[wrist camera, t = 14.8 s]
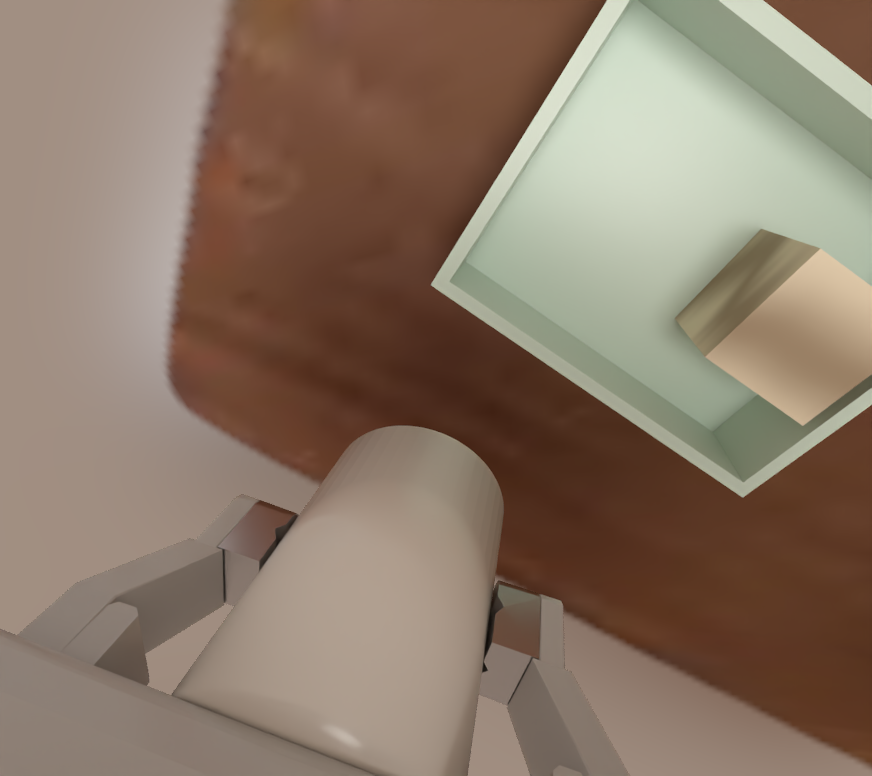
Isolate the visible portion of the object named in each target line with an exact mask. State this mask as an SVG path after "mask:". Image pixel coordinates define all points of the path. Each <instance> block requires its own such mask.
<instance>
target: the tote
mask: <svg viewBox="0 0 872 776" xmlns="http://www.w3.org/2000/svg"><path fill="white" fill-rule="evenodd" d="M761 229H764V230H767V231H770V232H773V233H776V234H779V235H782V236H785V237H788V238H791V239H794V240H797V241H800V242H803V243H806V244H809V245H812V246H815V247H818V248H821V249H822V250H823V251H825V252H826V253H827V254H829V255H830V256H831V257H833V258H834V259H835V260H837V261H838V262H840V263H841V264H842V265H844V266H845V267H846V268H848V269H849V270H850V271H852V272H853V273H854V274H856V275H857V276H858V277H860V278H861V279H862V280H864V281H865V282H866V283H868V284H869V285H870V286H872V86H871V85H870V84H869V83H868V82H866V81H865V80H864V79H863V78H861V77H860V76H859V75H857V74H856V73H855V72H854V71H852V70H851V69H850V68H849V67H847V66H846V65H845V64H843V63H842V62H841V61H840V60H838V59H837V58H836V57H835V56H833V55H832V54H831V53H829V52H828V51H827V50H826V49H824V48H823V47H822V46H821V45H819V44H818V43H817V42H815V41H814V40H813V39H812V38H810V37H809V36H808V35H807V34H805V33H804V32H803V31H801V30H800V29H799V28H798V27H796V26H795V25H794V24H792V23H791V22H790V21H789V20H787V19H786V18H785V17H784V16H782V15H781V14H780V13H778V12H777V11H776V10H775V9H773V8H772V7H771V6H770V5H768V4H767V3H766V2H764V1H763V0H607V1H606V3H605V5H604V6H603V8H602V9H601V11H600V13H599V14H598V16H597V18H596V19H595V21H594V22H593V24H592V26H591V27H590V29H589V30H588V32H587V34H586V35H585V37H584V38H583V40H582V42H581V43H580V45H579V47H578V48H577V50H576V51H575V53H574V55H573V56H572V58H571V59H570V61H569V63H568V64H567V66H566V68H565V69H564V71H563V72H562V74H561V76H560V77H559V79H558V80H557V82H556V84H555V85H554V87H553V88H552V90H551V92H550V93H549V95H548V97H547V98H546V100H545V101H544V103H543V105H542V106H541V108H540V109H539V111H538V113H537V114H536V116H535V117H534V119H533V121H532V122H531V124H530V126H529V127H528V129H527V130H526V132H525V134H524V135H523V137H522V138H521V140H520V142H519V143H518V145H517V147H516V148H515V150H514V151H513V153H512V155H511V156H510V158H509V159H508V161H507V163H506V164H505V166H504V167H503V169H502V171H501V172H500V174H499V176H498V177H497V179H496V180H495V182H494V184H493V185H492V187H491V188H490V190H489V192H488V193H487V195H486V196H485V198H484V200H483V201H482V203H481V205H480V206H479V208H478V209H477V211H476V213H475V214H474V216H473V217H472V219H471V221H470V222H469V224H468V226H467V227H466V229H465V230H464V232H463V234H462V235H461V237H460V238H459V240H458V242H457V243H456V245H455V246H454V248H453V250H452V251H451V253H450V255H449V256H448V258H447V259H446V261H445V263H444V264H443V266H442V267H441V269H440V271H439V272H438V274H437V275H436V277H435V279H434V280H433V282H432V284H431V286H433V287H434V288H435V289H437V290H438V291H440V292H441V293H443V294H444V295H446V296H447V297H449V298H450V299H452V300H453V301H455V302H456V303H458V304H459V305H460V306H462V307H463V308H465V309H466V310H468V311H469V312H471V313H472V314H474V315H475V316H477V317H478V318H480V319H481V320H482V321H484V322H485V323H487V324H488V325H490V326H491V327H493V328H494V329H496V330H497V331H499V332H500V333H502V334H503V335H505V336H506V337H507V338H509V339H510V340H512V341H513V342H515V343H516V344H518V345H519V346H521V347H522V348H524V349H525V350H527V351H528V352H530V353H531V354H532V355H534V356H535V357H537V358H538V359H540V360H541V361H543V362H544V363H546V364H547V365H549V366H550V367H552V368H553V369H554V370H556V371H557V372H559V373H560V374H562V375H563V376H565V377H566V378H568V379H569V380H571V381H572V382H574V383H575V384H577V385H578V386H579V387H581V388H582V389H584V390H585V391H587V392H588V393H590V394H591V395H593V396H594V397H596V398H597V399H599V400H600V401H602V402H603V403H604V404H606V405H607V406H609V407H610V408H612V409H613V410H615V411H616V412H618V413H619V414H621V415H622V416H624V417H625V418H626V419H628V420H629V421H631V422H632V423H634V424H635V425H637V426H638V427H640V428H641V429H643V430H644V431H646V432H647V433H649V434H650V435H651V436H653V437H654V438H656V439H657V440H659V441H660V442H662V443H663V444H665V445H666V446H668V447H669V448H671V449H672V450H674V451H675V452H676V453H678V454H679V455H681V456H682V457H684V458H685V459H687V460H688V461H690V462H691V463H693V464H694V465H696V466H697V467H698V468H700V469H701V470H703V471H704V472H706V473H707V474H709V475H710V476H712V477H713V478H715V479H716V480H718V481H719V482H721V483H722V484H723V485H725V486H726V487H728V488H729V489H731V490H732V491H734V492H735V493H737V494H738V495H740V496H741V497H744V496H746V495H747V494H748V493H750V492H751V491H752V490H754V489H755V488H757V487H758V486H759V485H761V484H762V483H764V482H765V481H766V480H768V479H769V478H771V477H772V476H773V475H775V474H776V473H778V472H779V471H780V470H782V469H783V468H784V467H786V466H787V465H789V464H790V463H791V462H793V461H794V460H796V459H797V458H798V457H800V456H801V455H803V454H804V453H805V452H807V451H808V450H809V449H811V448H812V447H814V446H815V445H816V444H818V443H819V442H821V441H822V440H823V439H825V438H826V437H828V436H829V435H830V434H832V433H833V432H835V431H836V430H837V429H839V428H840V427H841V426H843V425H844V424H846V423H847V422H848V421H850V420H851V419H853V418H854V417H855V416H857V415H858V414H860V413H861V412H862V411H864V410H865V409H866V408H868V407H869V406H871V405H872V374H871V375H870V376H869V377H867V378H866V379H865V380H863V381H862V382H861V383H859V384H858V385H857V386H855V387H854V388H853V389H851V390H850V391H849V392H847V393H846V394H845V395H843V396H842V397H841V398H839V399H838V400H837V401H835V402H834V403H833V404H831V405H830V406H829V407H827V408H826V409H825V410H823V411H822V412H821V413H820V414H818V415H817V416H816V417H814V418H813V419H812V420H810V421H809V422H808V423H806V424H805V425H804V426H802V425H801V424H799V423H798V422H797V421H795V420H794V419H792V418H791V417H789V416H788V415H787V414H785V413H784V412H782V411H781V410H780V409H778V408H777V407H775V406H774V405H772V404H771V403H770V402H768V401H767V400H765V399H764V398H762V397H761V396H760V395H758V394H757V393H755V392H754V391H753V390H751V389H750V388H748V387H747V386H745V385H744V384H743V383H741V382H740V381H738V380H737V379H735V378H734V377H733V376H731V375H730V374H728V373H727V372H726V371H724V370H723V369H721V368H720V367H718V366H717V365H716V364H714V363H713V362H711V361H710V360H708V359H707V358H706V357H705V356H704V355H703V354H702V353H701V351H700V350H699V349H698V348H697V346H696V345H695V344H694V342H693V341H692V340H691V339H690V337H689V336H688V335H687V334H686V332H685V331H684V330H683V329H682V327H681V326H680V325H679V323H678V322H677V321H676V320H675V317H676V316H677V315H678V314H679V313H680V312H681V311H682V310H683V309H684V308H685V307H686V306H687V305H688V304H689V303H690V302H691V301H692V300H693V299H694V298H695V297H696V296H697V295H698V294H699V293H700V292H701V291H702V290H703V288H704V287H705V286H706V285H707V284H708V283H709V282H710V281H711V280H712V279H713V278H714V277H715V276H716V275H717V274H718V273H719V272H720V271H721V270H722V269H723V268H724V267H725V266H726V265H727V264H728V263H729V262H730V261H731V260H732V259H733V258H734V257H735V256H736V254H737V253H738V252H739V251H740V250H741V249H742V248H743V247H744V246H745V245H746V244H747V243H748V242H749V241H750V240H751V239H752V238H753V237H754V236H755V235H756V234H757V233H758V232H759V231H760V230H761Z"/></svg>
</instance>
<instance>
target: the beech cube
mask: <svg viewBox="0 0 872 776" xmlns="http://www.w3.org/2000/svg"><path fill="white" fill-rule="evenodd" d="M675 320H676V321H677V322H678V323H679V325H680V326H681V327H682V329H683V330H684V331H685V332H686V334H687V335H688V336H689V337H690V339H691V340H692V341H693V342H694V344H695V345H696V346H697V348H698V349H699V350H700V351H701V353H702V354H703V355H704V356H705V357H706V358H707V359H708V360H710V361H711V362H713V363H714V364H716V365H717V366H718V367H720V368H721V369H723V370H724V371H726V372H727V373H728V374H730V375H731V376H733V377H734V378H735V379H737V380H738V381H740V382H741V383H743V384H744V385H745V386H747V387H748V388H750V389H751V390H753V391H754V392H755V393H757V394H758V395H760V396H761V397H762V398H764V399H765V400H767V401H768V402H770V403H771V404H772V405H774V406H775V407H777V408H778V409H780V410H781V411H782V412H784V413H785V414H787V415H788V416H789V417H791V418H792V419H794V420H795V421H797V422H798V423H799V424H801V425H802V426H804V425H805V424H806V423H808V422H809V421H810V420H812V419H813V418H814V417H816V416H817V415H818V414H820V413H821V412H822V411H823V410H825V409H826V408H827V407H829V406H830V405H831V404H833V403H834V402H835V401H837V400H838V399H839V398H841V397H842V396H843V395H845V394H846V393H847V392H849V391H850V390H851V389H853V388H854V387H855V386H857V385H858V384H859V383H861V382H862V381H863V380H865V379H866V378H867V377H869V376H870V375H871V374H872V286H870V285H869V284H868V283H866V282H865V281H864V280H862V279H861V278H860V277H858V276H857V275H856V274H854V273H853V272H852V271H850V270H849V269H848V268H846V267H845V266H844V265H842V264H841V263H840V262H838V261H837V260H835V259H834V258H833V257H831V256H830V255H829V254H827V253H826V252H825V251H823V250H822V249H821V248H818V247H815V246H812V245H809V244H806V243H803V242H800V241H797V240H794V239H791V238H788V237H785V236H782V235H779V234H776V233H773V232H770V231H767V230H764V229H761V230H760V231H759V232H758V233H757V234H756V235H755V236H754V237H753V238H752V239H751V240H750V241H749V242H748V243H747V244H746V245H745V246H744V247H743V248H742V249H741V250H740V251H739V252H738V253H737V254H736V256H735V257H734V258H733V259H732V260H731V261H730V262H729V263H728V264H727V265H726V266H725V267H724V268H723V269H722V270H721V271H720V272H719V273H718V274H717V275H716V276H715V277H714V278H713V279H712V280H711V281H710V282H709V283H708V284H707V285H706V286H705V287H704V288H703V290H702V291H701V292H700V293H699V294H698V295H697V296H696V297H695V298H694V299H693V300H692V301H691V302H690V303H689V304H688V305H687V306H686V307H685V308H684V309H683V310H682V311H681V312H680V313H679V314H678V315H677V316H676V317H675Z"/></svg>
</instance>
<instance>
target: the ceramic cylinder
mask: <svg viewBox="0 0 872 776" xmlns="http://www.w3.org/2000/svg"><path fill="white" fill-rule="evenodd" d="M503 515H504V503H503V497H502V493H501V490H500V487H499V485H498V482H497V480H496V479H495V477H494V475H493V473H492V472H491V470H490V469H489V468H488V466H487V465H486V464H485V463H484V462H483V460H482V459H481V458H480V457H479V456H478V455H477V454H475V453H474V452H473V451H472V450H471V449H469V448H468V447H467V446H465V445H464V444H462V443H461V442H459V441H457V440H455V439H453V438H452V437H450V436H448V435H445V434H443V433H440V432H437V431H435V430H431V429H427V428H423V427H416V426H389V427H384V428H380V429H376V430H373V431H371V432H368V433H366V434H364V435H363V436H361V437H359V438H358V439H356V440H355V441H354V442H353V443H351V444H350V446H349V447H348V448H347V449H346V450H345V451H344V453H343V454H342V456H341V457H340V458H339V460H338V461H337V463H336V464H335V465H334V467H333V468H332V470H331V471H330V472H329V474H328V475H327V477H326V478H325V479H324V481H323V482H322V484H321V485H320V487H319V488H318V489H317V491H316V492H315V494H314V495H313V496H312V498H311V499H310V501H309V502H308V503H307V505H306V506H305V508H304V509H303V510H302V512H301V513H300V515H299V516H298V517H297V519H296V520H295V522H294V523H293V524H292V526H291V527H290V529H289V530H288V532H287V533H286V534H285V536H284V537H283V539H282V540H281V541H280V543H279V544H278V546H277V547H276V548H275V550H274V551H273V553H272V554H271V555H270V557H269V558H268V560H267V561H266V562H265V564H264V565H263V567H262V568H261V569H260V571H259V572H258V574H257V575H256V577H255V578H254V579H253V581H252V582H251V584H250V585H249V586H248V588H247V589H246V591H245V592H244V593H243V595H242V596H241V598H240V599H239V600H238V602H237V603H236V605H235V606H234V607H233V609H232V610H231V612H230V613H229V614H228V616H227V617H226V619H225V620H224V621H223V623H222V624H221V626H220V627H219V629H218V630H217V631H216V633H215V634H214V636H213V637H212V638H211V640H210V641H209V643H208V644H207V646H206V647H205V648H204V650H203V651H202V652H201V654H200V655H199V657H198V658H197V659H196V661H195V662H194V664H193V665H192V666H191V668H190V669H189V671H188V672H187V674H186V675H185V676H184V678H183V679H182V681H181V682H180V683H179V685H178V686H177V688H176V689H175V690H174V692H173V693H172V695H171V696H174V697H177V698H179V699H182V700H184V701H187V702H189V703H192V704H195V705H197V706H200V707H202V708H205V709H207V710H210V711H212V712H215V713H218V714H220V715H223V716H225V717H228V718H230V719H233V720H236V721H238V722H241V723H243V724H246V725H248V726H251V727H254V728H256V729H259V730H261V731H264V732H266V733H269V734H271V735H274V736H277V737H279V738H282V739H284V740H287V741H289V742H292V743H295V744H297V745H300V746H302V747H305V748H307V749H310V750H312V751H315V752H318V753H320V754H323V755H325V756H328V757H330V758H333V759H336V760H338V761H341V762H343V763H346V764H348V765H351V766H353V767H356V768H359V769H361V770H364V771H366V772H369V773H371V774H374V775H376V776H467V775H468V768H469V761H470V753H471V746H472V738H473V732H474V725H475V717H476V710H477V703H478V695H479V689H480V682H481V675H482V667H483V660H484V653H485V646H486V639H487V631H488V624H489V617H490V610H491V603H492V595H493V588H494V581H495V574H496V567H497V559H498V552H499V545H500V538H501V531H502V523H503Z"/></svg>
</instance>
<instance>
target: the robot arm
mask: <svg viewBox="0 0 872 776" xmlns="http://www.w3.org/2000/svg"><path fill="white" fill-rule="evenodd" d="M298 516H299V515H298V514H297V513H294V512H291V511H288V510H285V509H283V508H280V507H277V506H275V505H272V504H269V503H267V502H264V501H261V500H258V499H255V498H252V497H249V496H246V495H244V494H241V495H239V496H238V497H236V498H235V499H234V500H233V501H232V502H231V503H230V504H229V505H228V506H227V507H226V508H225V509H224V510H223V511H222V512H221V513H220V515H219V516H218V517H217V518H216V519H215V520H214V521H213V522H212V523H211V524H210V525H209V526H208V527H207V528H206V530H204V532H203V533H202V534H201V535H200V536H199V537H198V538H197V539H196V540H194V539H190V538H189V539H187V540H184V541H182V542H179V543H176V544H174V545H171V546H169V547H167V548H164V549H161V550H159V551H156V552H154V553H151V554H148V555H146V556H143V557H141V558H138V559H136V560H133V561H131V562H128V563H126V564H123V565H120V566H118V567H116V568H113V569H110V570H108V571H105V572H103V573H100V574H97V575H95V576H93V577H90V578H87V579H85V580H82V581H80V582H77V583H75V584H74V585H73V586H72V587H71V588H70V589H69V590H67V591H66V592H65V593H64V594H63V595H62V596H61V597H60V598H58V599H57V600H56V601H55V602H54V603H53V604H52V605H51V606H49V607H48V608H47V609H46V610H45V611H44V612H43V613H42V614H40V615H39V616H38V617H37V618H36V619H35V620H34V621H33V622H31V623H30V624H29V625H28V626H27V627H26V628H25V629H23V631H21V632H20V633H19V634H18V635H15V634H12V633H10V632H7V631H5V630H2V629H0V776H376V775H374V774H371V773H369V772H366V771H364V770H361V769H359V768H356V767H353V766H351V765H348V764H346V763H343V762H341V761H338V760H336V759H333V758H330V757H328V756H325V755H323V754H320V753H318V752H315V751H312V750H310V749H307V748H305V747H302V746H300V745H297V744H295V743H292V742H289V741H287V740H284V739H282V738H279V737H277V736H274V735H271V734H269V733H266V732H264V731H261V730H259V729H256V728H254V727H251V726H248V725H246V724H243V723H241V722H238V721H236V720H233V719H230V718H228V717H225V716H223V715H220V714H218V713H215V712H212V711H210V710H207V709H205V708H202V707H200V706H197V705H195V704H192V703H189V702H187V701H184V700H182V699H179V698H177V697H174V696H171V695H169V694H166V693H164V692H161V691H159V690H156V689H153V688H151V687H148V686H147V685H148V683H149V673H148V667H147V662H146V657H145V654H146V653H147V652H149V651H151V650H152V649H154V648H155V647H157V646H158V645H160V644H162V643H164V642H165V641H167V640H168V639H170V638H172V637H173V636H175V635H176V634H178V633H180V632H181V631H183V630H185V629H186V628H188V627H189V626H191V625H193V624H194V623H196V622H197V621H199V620H201V619H202V618H204V617H206V616H207V615H209V614H210V613H212V612H214V611H215V610H217V609H219V608H220V607H222V606H223V605H224V603H226V604H229V605H232V606H235V605H236V603H237V602H238V600H239V599H240V598H241V596H242V595H243V593H244V592H245V591H246V589H247V588H248V586H249V585H250V584H251V582H252V581H253V579H254V578H255V577H256V575H257V574H258V572H259V571H260V569H261V568H262V567H263V565H264V564H265V562H266V561H267V560H268V558H269V557H270V555H271V554H272V553H273V551H274V550H275V548H276V547H277V546H278V544H279V543H280V541H281V540H282V539H283V537H284V536H285V534H286V533H287V532H288V530H289V529H290V527H291V526H292V524H293V523H294V522H295V520H296V519H297V517H298ZM563 623H564V622H563V604H562V602H561V601H560V600H557V599H554V598H551V597H548V596H545V595H542V594H539V593H536V592H533V591H530V590H527V589H524V588H521V587H518V586H515V585H511V584H508V583H505V582H502V581H498V582H497V583H496V585H495V588H494V590H493V597H492V603H491V610H490V617H489V624H488V631H487V639H486V646H485V653H484V660H483V667H482V675H481V682H480V689H479V694H480V695H482V696H484V697H487V698H490V699H492V700H495V701H497V702H500V703H502V704H505V705H507V706H508V707H507V709H508V712H509V715H510V718H511V721H512V724H513V726H514V729H515V732H516V735H517V738H518V741H519V744H520V747H521V750H522V752H523V755H524V758H525V761H526V764H527V767H528V770H529V773H530V776H630V775H629V774H628V772H627V770H626V768H625V767H624V764H623V763H622V761H621V759H620V757H619V756H618V754H617V752H616V750H615V749H614V747H613V745H612V743H611V741H610V740H609V738H608V736H607V734H606V732H605V731H604V729H603V727H602V725H601V724H600V722H599V720H598V718H597V716H596V715H595V713H594V711H593V709H592V708H591V706H590V704H589V702H588V700H587V699H586V697H585V695H584V693H583V691H582V690H581V688H580V686H579V684H578V683H577V681H576V679H575V677H574V675H573V674H572V672H571V671H568V670H566V669H565V661H564V660H565V658H564V624H563Z"/></svg>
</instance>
